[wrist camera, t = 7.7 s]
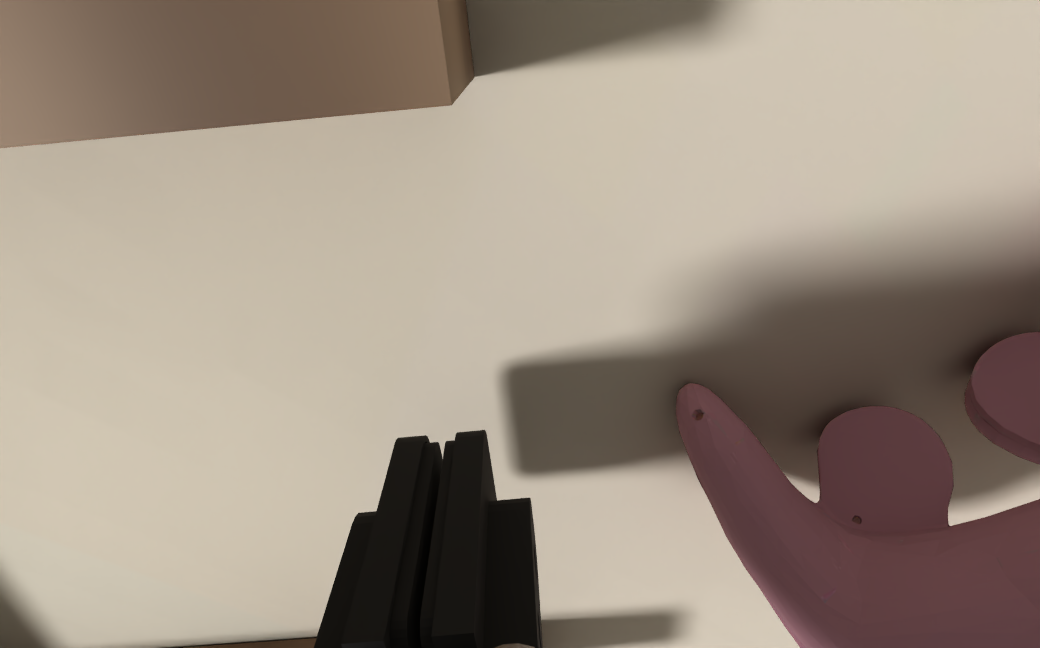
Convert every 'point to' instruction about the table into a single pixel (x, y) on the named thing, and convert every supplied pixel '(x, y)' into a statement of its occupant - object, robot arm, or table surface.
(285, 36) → the frame
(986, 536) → the video game controller
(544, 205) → the table surface
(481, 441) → the robot arm
